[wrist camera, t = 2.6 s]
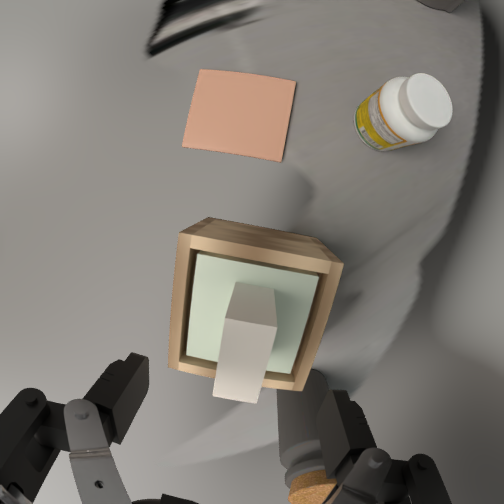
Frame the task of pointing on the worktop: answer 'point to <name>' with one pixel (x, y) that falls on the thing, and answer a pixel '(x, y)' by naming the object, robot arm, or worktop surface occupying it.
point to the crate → (259, 249)
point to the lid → (247, 320)
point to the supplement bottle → (403, 112)
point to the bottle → (303, 441)
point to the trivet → (239, 114)
